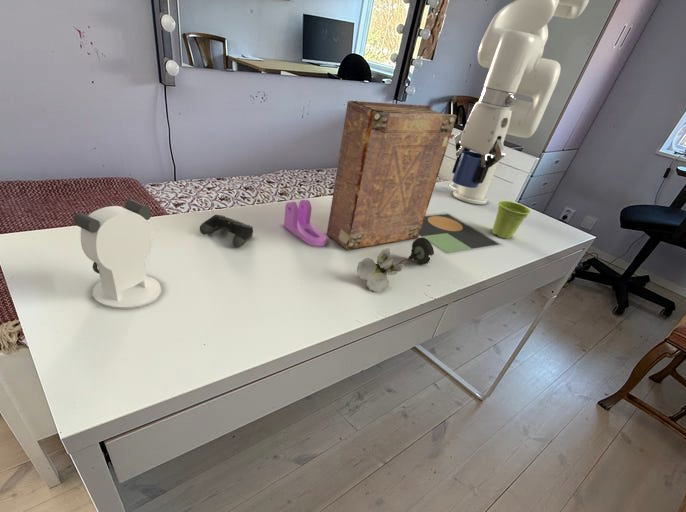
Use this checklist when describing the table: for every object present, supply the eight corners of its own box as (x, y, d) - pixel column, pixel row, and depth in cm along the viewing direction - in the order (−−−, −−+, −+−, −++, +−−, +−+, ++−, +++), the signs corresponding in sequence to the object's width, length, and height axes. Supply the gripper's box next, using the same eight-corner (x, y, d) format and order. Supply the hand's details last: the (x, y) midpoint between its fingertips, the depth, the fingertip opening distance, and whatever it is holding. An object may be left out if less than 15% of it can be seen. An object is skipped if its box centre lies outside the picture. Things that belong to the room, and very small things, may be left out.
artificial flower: (433, 275, 97) (453, 244, 88) (367, 306, 87) (382, 275, 78) (410, 251, 100) (427, 219, 91) (343, 278, 89) (355, 246, 81)
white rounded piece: (134, 267, 78) (119, 190, 68) (176, 288, 74) (168, 210, 65) (78, 291, 69) (52, 207, 60) (123, 316, 66) (104, 231, 56)
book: (396, 224, 115) (429, 105, 95) (418, 238, 109) (458, 115, 90) (326, 235, 102) (347, 100, 83) (346, 250, 97) (374, 110, 77)
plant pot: (512, 231, 125) (525, 204, 119) (520, 243, 118) (535, 215, 112) (483, 226, 124) (495, 198, 119) (490, 238, 117) (503, 209, 112)
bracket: (283, 226, 103) (286, 199, 98) (300, 223, 106) (303, 197, 101) (313, 247, 96) (317, 220, 91) (330, 244, 99) (335, 216, 94)
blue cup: (446, 179, 105) (456, 150, 101) (464, 178, 109) (474, 151, 104) (465, 188, 101) (476, 159, 97) (482, 187, 104) (494, 159, 100)
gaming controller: (196, 233, 92) (198, 211, 90) (216, 230, 98) (219, 210, 96) (238, 249, 89) (241, 227, 86) (256, 246, 95) (259, 225, 93)
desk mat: (396, 219, 118) (396, 219, 118) (447, 214, 128) (447, 214, 128) (446, 252, 105) (446, 252, 105) (499, 244, 115) (499, 244, 115)
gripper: (535, 108, 89) (501, 189, 100) (479, 92, 99) (453, 167, 111) (515, 106, 85) (481, 190, 97) (459, 90, 96) (434, 167, 108)
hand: (467, 177), depth 104 cm, fingers closed on blue cup, 7 cm apart
